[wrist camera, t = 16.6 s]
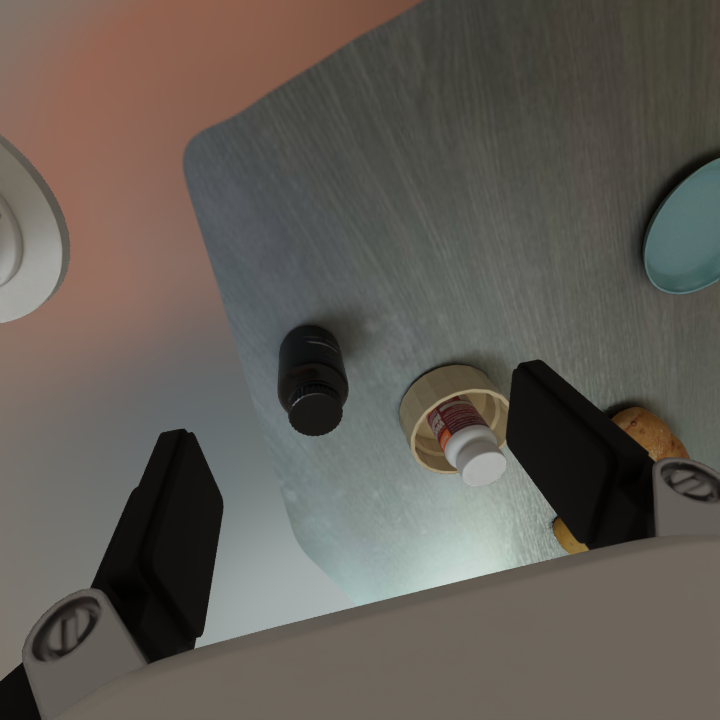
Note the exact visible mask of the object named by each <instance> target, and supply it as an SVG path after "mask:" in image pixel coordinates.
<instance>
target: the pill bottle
mask: <svg viewBox="0 0 720 720" xmlns="http://www.w3.org/2000/svg"><path fill="white" fill-rule="evenodd" d="M426 420H427V422H428V424H429V426H430V428H431V430H432V432H433V433H434V435H435V437H436V439H437V441H438V443H439V445H440V447H441V449H442V451H443V453H444V455H445V457H446V459H447V461H448V462H449V463H450V464H451V465H452V466H453V467H455V468H457V470H458V472H459V474H460V475H461V477H462V479H463V481H464V482H465V483H466V484H468V485H469V486H473V487H483V486H486V485H489V484H491V483H493V482H495V481H496V480H498V479H499V478H500V477H501V476H502V475H503V474H504V472H505V470H506V468H507V460H506V458H505V456H504V454H503V453H502V452H501V450H500V449H499V447H498V446H497V438H496V436H495V434H494V433H493V431H492V430H491V429H490V427H489V426H488V425H487V423H486V422H485V420H484V419H483V418H482V416H481V415H480V414H479V412H478V411H477V409H476V408H475V406H474V405H473V403H472V402H471V401H470V399H469V398H468V397H467V396H466V395H465V394H462V395H457V396H455V397H453V398H450V399H448V400H446V401H444V402H442V403H440V404H439V405H438V406H437V407H435V408H434V409H433V410H432V411H430V412H429V413H428V414H427V415H426Z"/></svg>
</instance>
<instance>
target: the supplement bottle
mask: <svg viewBox="0 0 720 720" xmlns="http://www.w3.org/2000/svg"><path fill="white" fill-rule="evenodd" d="M348 392H349V387H348V380H347V376H346V372H345V368H344V364H343V359H342V355H341V351H340V347H339V344H338V342H337V340H336V339H335V337H334V336H333V335H332V334H331V333H330V332H328V331H327V330H325V329H323V328H320V327H315V326H305V327H301V328H298V329H296V330H294V331H292V332H291V333H289V334H288V335H287V336H286V338H285V339H284V340H283V342H282V344H281V347H280V353H279V370H278V398H279V401H280V403H281V405H282V407H283V408H284V409H285V411H286V412H287V413H288V418H289V422H290V423H291V425H292V427H294V429H295V430H297V431H298V432H299V433H302V434H304V435H307V436H319V435H324V434H327V433H329V432H330V431H332V430H333V429H335V428H336V427H337V425H339V422H340V421H341V418H342V413H343V410H342V407H343V405H344V404H345V402H346V400H347V397H348Z"/></svg>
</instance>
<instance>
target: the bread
mask: <svg viewBox="0 0 720 720" xmlns="http://www.w3.org/2000/svg"><path fill="white" fill-rule="evenodd" d="M611 420H612V421H613V422H614V423H616V424H617V425H618V426H619V427H620V428H621V429H623V430H624V431H625V432H626V433H627V434H628V435H630V436H631V437H632V438H633V439H634V440H635V441H637V442H638V443H639V444H640V445H641V446H642V447H644V448H645V449H646V450H647V451H648V452H649V455H648V456H650V457H651V458H652V459H653V460H654V461H655V462H657V461H658V460H659V459H663V458H666V457H680V458H687V459H689V456H688V453H687V451H686V449H685V447H684V446H683V444H682V442H681V441H680V440H679V439H678V438H677V437H676V436H675V435H674V434H673V433H671V432H670V430H669V428H668V426H667V425H666V424H665V423H664V422H663V421H662V420H661V419H660V418H658V417H657V416H655V415H654V414H652V413H650V412H649V411H647V410H645V409H643V408H641V407H631V408H629V409H626V410H622V411H620V412H619V413H618V414H616V415H615V416H614V417H613V418H612V419H611ZM553 533H554V535H555V537H556V538H557V540H558V542H559V543H560V544H561V546H562V548H563V549H565V550H566V551H567V552H568V553H569V554H576V553H580V552H585V551H589V549H588V548H587V547H586V545H585V544H581V543H579V542H578V541H577V540H576V539H575V538H574V537H573V535H572V534H571V533H570V531H569V530H568V528H567V527H566V526H565V524H564V523H563V522H562V520H561V519H560V518H559V517H558V518H557V519H556V520H555V521H554V523H553Z"/></svg>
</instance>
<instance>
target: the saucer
mask: <svg viewBox="0 0 720 720" xmlns="http://www.w3.org/2000/svg"><path fill="white" fill-rule="evenodd" d="M643 263H644V268H645V271H646V273H647V276H648V278H649V280H650V281H651V283H652V284H653V285H654V286H655V287H656V288H658V289H659V290H661V291H663V292H666V293H670V294H687V293H691V292H695V291H698V290H700V289H703V288H705V287H707V286H709V285H711V284H713V283H715V282H716V281H718V280H719V279H720V158H718V159H716V160H714V161H711V162H710V163H708V164H706V165H704V166H702V167H701V168H699V169H697V170H696V171H694V172H693V173H692V174H690V175H689V176H687V177H686V178H685V179H684V180H682V181H681V182H680V183H679V184H678V185H677V186H676V187H675V188H674V189H673V190H672V191H671V192H670V193H669V194H668V195H667V196H666V197H665V199H664V200H663V201H662V202H661V204H660V205H659V207H658V208H657V210H656V211H655V213H654V215H653V216H652V218H651V220H650V223H649V225H648V227H647V230H646V234H645V237H644V243H643Z"/></svg>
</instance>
